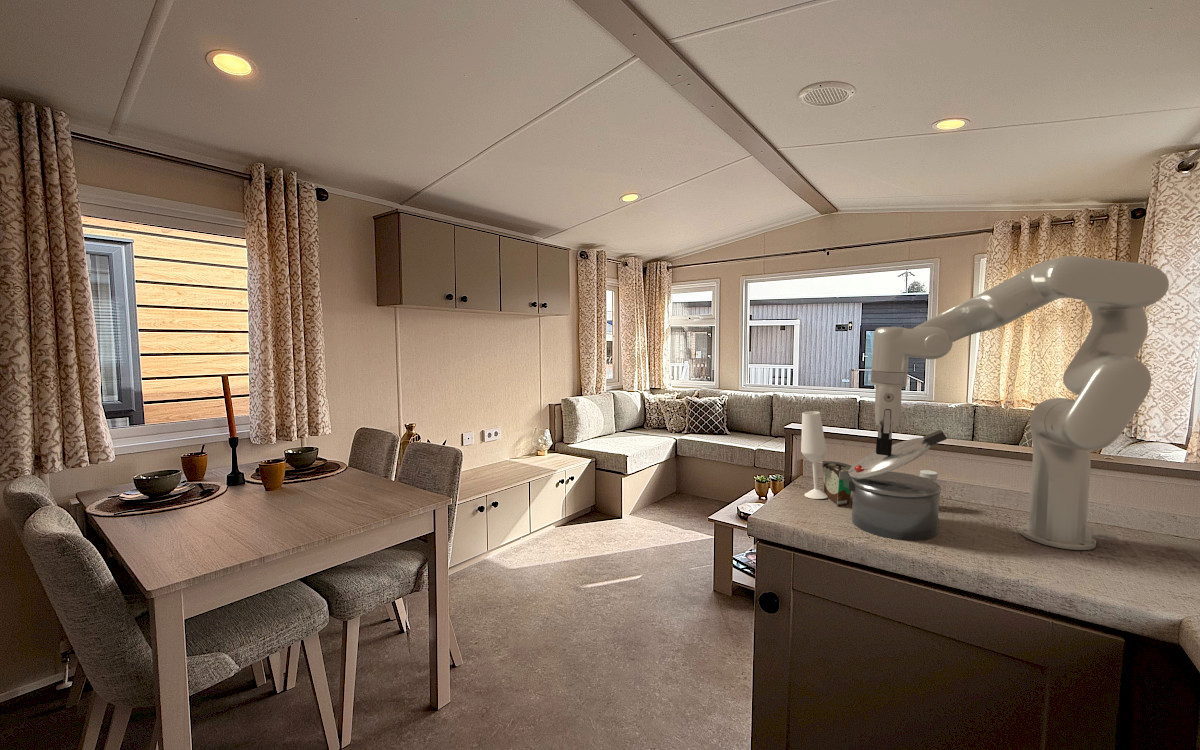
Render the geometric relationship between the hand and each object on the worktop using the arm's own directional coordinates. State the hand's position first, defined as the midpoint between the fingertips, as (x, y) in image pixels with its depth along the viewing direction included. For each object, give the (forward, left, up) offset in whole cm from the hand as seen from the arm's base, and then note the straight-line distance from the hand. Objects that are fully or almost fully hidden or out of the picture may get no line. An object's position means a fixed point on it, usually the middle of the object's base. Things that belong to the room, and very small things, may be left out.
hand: (883, 454), depth 123 cm
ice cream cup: (+9, -15, -18) cm, 25 cm away
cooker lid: (-3, 0, -1) cm, 3 cm away
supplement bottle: (-12, -18, -18) cm, 28 cm away
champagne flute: (+16, -17, -17) cm, 29 cm away
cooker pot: (-3, 0, -17) cm, 18 cm away
